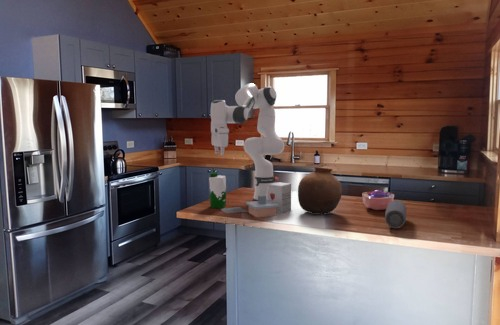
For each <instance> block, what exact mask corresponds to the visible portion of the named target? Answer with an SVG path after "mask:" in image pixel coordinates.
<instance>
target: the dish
mask: <svg viewBox="0 0 500 325" xmlns="http://www.w3.org/2000/svg"><path fill="white" fill-rule="evenodd" d="M248 213H249V214H250V215H251V216H253V217H255V218H256V219H260V218H263V217H264V218H268V217H272V216H273V217H277V211H276V207H273V208H263V209H254V208H252V207H250V206H249V205H248Z"/></svg>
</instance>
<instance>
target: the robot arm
mask: <svg viewBox="0 0 500 325" xmlns="http://www.w3.org/2000/svg"><path fill="white" fill-rule="evenodd" d="M234 99H235V102H236V104H237V105H227V104H226V100H224V99H216V100H213V101H212V102H211V104H210V119H211V121H210V134H211V146H214V151H215V152H214V153H215V154H216V155H218V154H219V155H220V156H224V155H225V148H227V147H228V146H229V133H230V129H229V127H228V124H240V125H241V124H245V123H246V122H247V121H248V119H249V116H250V114H251V112H252V111H253V110H257V109H259V113H258V117H257V127H256V130H257V132H258V133H259V134H260V135H262V136H259V137H257V136H256V137H255V136H252V137H248V138H246V139H245V140H244V142H243V150H244V152H245V153H246V155H247V154H248V156H249V157H250V158H251V159H252V161H253V163H254V170H255V176H254V194H253V198H252V199H254V200H255V201H258V196H259V195H265V196H266V200H269V184H272V183H277V182H276V181H279V177H278V176H274V165H273V163H272V162H271V161H270V160H267V159H265V158H264V156H265V155H266V156H267V155H270V156H272V155H274V156H275V155H280V154H282V153H283V152H284V150H285V142H284V140H283V138H282V137H280V136H279V135H277V133H276V131H275V130H276V129H275V124H276V112H275V111H276V110H275V107H274V105H275V103H276V100H277V92H276V90H275V88H274V87H272V86H265V87H262V88H260V89H259V88H258V86H257V84H254V83H252V82H251V83H249V82H248V83H247V84H245V85H243V86H242V87H241V88H239V89H238V90H237V91H236V93H235V97H234ZM219 149H220V150H219Z"/></svg>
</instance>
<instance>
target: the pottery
mask: <svg viewBox="0 0 500 325" xmlns="http://www.w3.org/2000/svg"><path fill="white" fill-rule="evenodd" d="M313 168H314V171H312V172H310V173H308V174H307V175H305V176H303V177H302V178H301V180H300V182H299V184H298V188H297V197H298V198H297V200H298V204H299V206H300V207H301V209H302V210H303V211H305V212H307V213H309V214H315V215H327V214H329V213H331V212H333V211H334V210H335V209H336V208H337V207H338V205H339V203H340V200H341V198H342V194H343V187H342V184H341V182H340V180H339V179H338V178H337V177H336V176H334V174H332V172H333V170H334V169H332V168H327V167H326V168H325V167H317V166H314V167H313Z"/></svg>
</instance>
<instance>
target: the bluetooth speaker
mask: <svg viewBox="0 0 500 325" xmlns="http://www.w3.org/2000/svg"><path fill="white" fill-rule="evenodd" d="M384 213H385V215H384V218H385V222H386V224H387V225H388V226H389V227H390V228H393V229H398V228H402V227H403V226H404V224H406V220H407V214H408V213H407V207H406V205H405V203H404V202H403V201H401V200H399V199H395V200H394V199H393V201H391V202H390V203H389V204H388V206H387V209H385V212H384Z"/></svg>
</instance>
